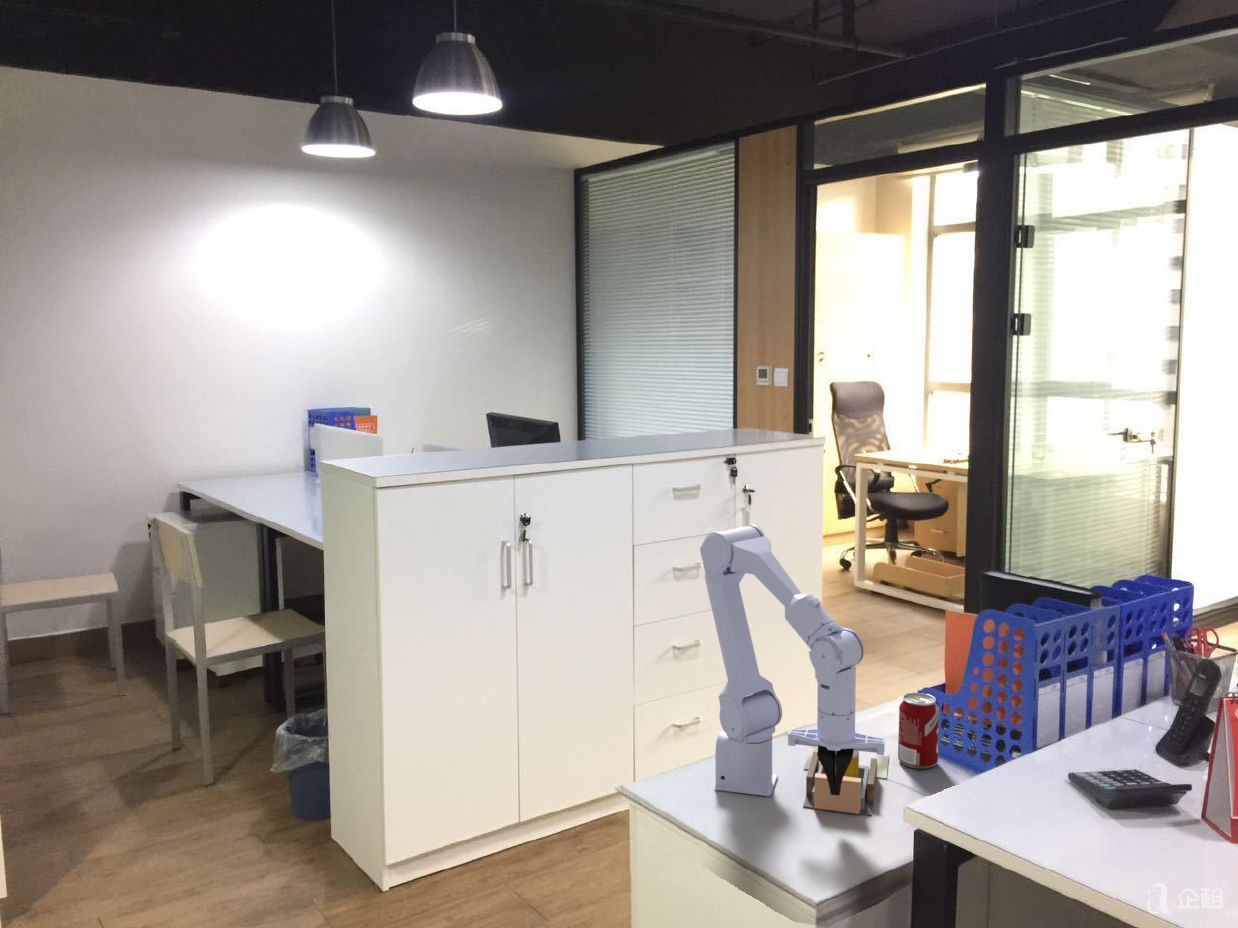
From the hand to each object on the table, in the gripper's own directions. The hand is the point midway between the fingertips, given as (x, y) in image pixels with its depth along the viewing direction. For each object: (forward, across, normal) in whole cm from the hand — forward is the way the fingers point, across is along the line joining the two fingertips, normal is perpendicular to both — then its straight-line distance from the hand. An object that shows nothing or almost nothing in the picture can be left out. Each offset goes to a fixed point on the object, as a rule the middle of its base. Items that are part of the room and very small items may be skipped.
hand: (835, 792), depth 159 cm
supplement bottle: (+6, 0, +13) cm, 14 cm away
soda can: (+6, +12, +26) cm, 29 cm away
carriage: (+5, 0, +11) cm, 12 cm away
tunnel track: (+5, 0, +16) cm, 16 cm away
